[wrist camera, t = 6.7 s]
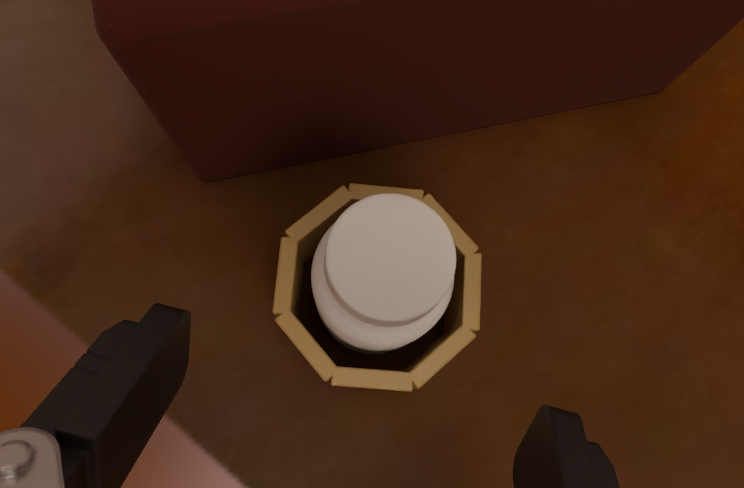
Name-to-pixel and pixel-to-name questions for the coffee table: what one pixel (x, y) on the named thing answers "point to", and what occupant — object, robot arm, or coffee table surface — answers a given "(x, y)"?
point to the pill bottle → (383, 273)
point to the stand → (457, 316)
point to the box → (387, 67)
